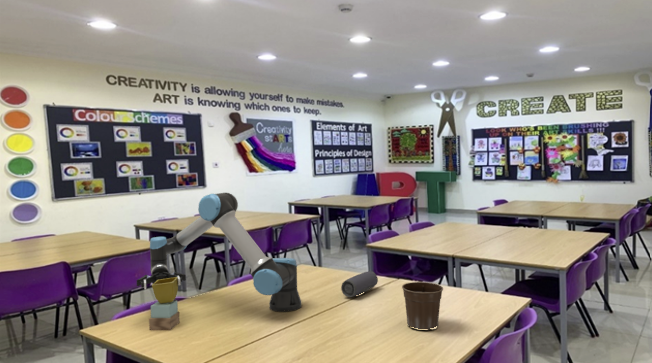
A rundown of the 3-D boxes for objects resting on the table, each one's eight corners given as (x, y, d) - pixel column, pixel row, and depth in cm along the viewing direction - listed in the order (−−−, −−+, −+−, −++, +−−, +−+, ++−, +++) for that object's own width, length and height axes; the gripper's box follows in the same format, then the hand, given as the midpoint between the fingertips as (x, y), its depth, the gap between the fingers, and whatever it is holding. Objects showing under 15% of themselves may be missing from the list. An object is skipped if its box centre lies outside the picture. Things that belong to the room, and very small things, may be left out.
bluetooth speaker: (363, 287, 240) (363, 269, 240) (379, 289, 235) (378, 271, 234) (340, 298, 222) (339, 278, 222) (356, 301, 216) (355, 280, 216)
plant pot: (445, 321, 185) (444, 282, 184) (442, 335, 170) (441, 293, 169) (406, 317, 190) (405, 280, 190) (399, 331, 175) (398, 290, 175)
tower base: (179, 323, 192) (179, 311, 192) (170, 330, 183) (169, 318, 183) (159, 322, 193) (159, 311, 193) (149, 330, 184) (149, 318, 184)
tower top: (177, 311, 192) (177, 300, 192) (169, 318, 184) (169, 306, 184) (159, 311, 193) (159, 300, 193) (151, 317, 185) (150, 306, 185)
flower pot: (175, 303, 185) (172, 281, 185) (154, 306, 185) (151, 284, 184) (180, 297, 194) (178, 276, 194) (160, 300, 194) (157, 279, 193)
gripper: (188, 278, 213) (193, 289, 193) (131, 285, 203) (130, 297, 183) (187, 262, 212) (192, 272, 193) (130, 268, 203) (130, 279, 183)
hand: (162, 284), depth 188 cm, fingers open, 13 cm apart
